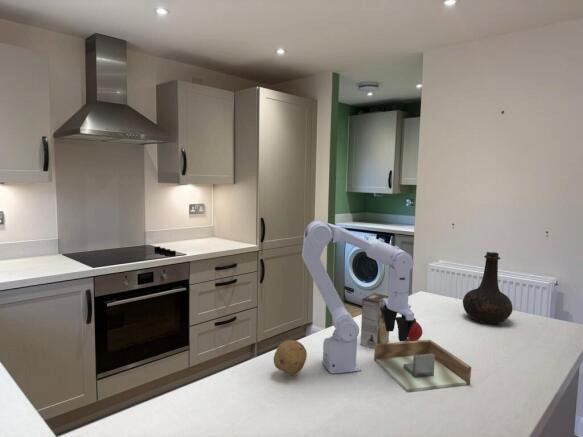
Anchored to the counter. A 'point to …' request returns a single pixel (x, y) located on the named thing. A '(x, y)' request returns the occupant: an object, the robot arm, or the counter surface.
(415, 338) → the red round fruit
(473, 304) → the glass bottle
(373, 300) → the coffee box
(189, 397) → the counter surface
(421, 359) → the bracket
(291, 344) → the potato
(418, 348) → the arena
